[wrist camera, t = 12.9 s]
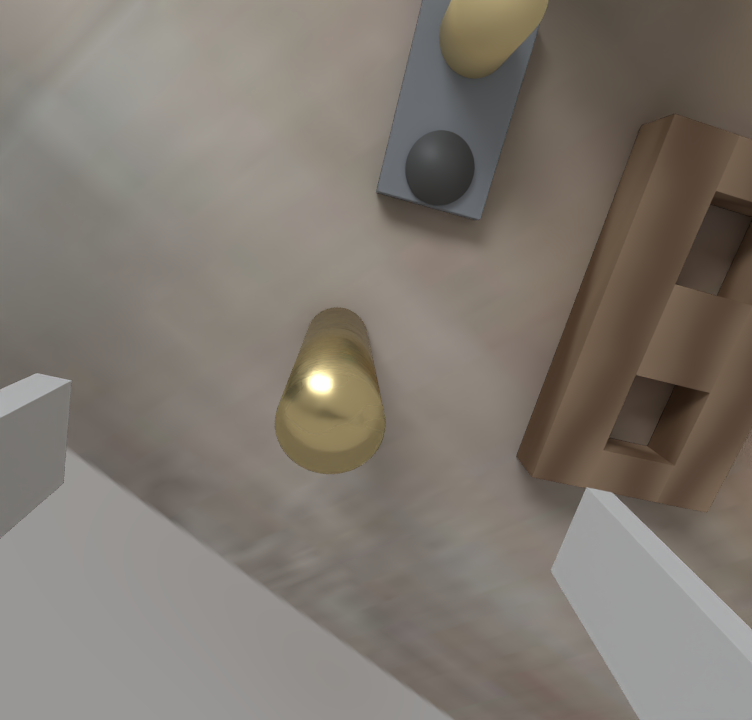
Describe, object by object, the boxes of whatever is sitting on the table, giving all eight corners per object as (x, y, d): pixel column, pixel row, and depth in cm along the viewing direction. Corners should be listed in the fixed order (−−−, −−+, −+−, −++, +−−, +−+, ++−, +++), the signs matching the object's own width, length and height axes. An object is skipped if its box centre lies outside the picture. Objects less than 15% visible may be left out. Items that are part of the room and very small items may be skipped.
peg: (301, 359, 26) (265, 463, 14) (314, 300, 25) (286, 361, 13) (359, 372, 26) (370, 482, 15) (374, 315, 25) (397, 386, 14)
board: (516, 456, 28) (532, 477, 26) (641, 125, 23) (675, 113, 21) (678, 490, 30) (707, 512, 28) (828, 187, 25) (880, 183, 23)
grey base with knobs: (376, 192, 23) (384, 182, 19) (426, -17, 21) (450, -90, 16) (474, 220, 24) (506, 217, 19) (534, 22, 22) (588, -38, 17)
